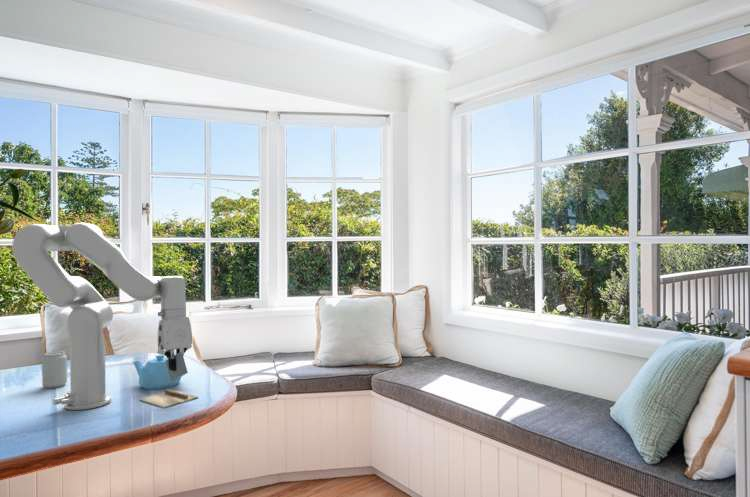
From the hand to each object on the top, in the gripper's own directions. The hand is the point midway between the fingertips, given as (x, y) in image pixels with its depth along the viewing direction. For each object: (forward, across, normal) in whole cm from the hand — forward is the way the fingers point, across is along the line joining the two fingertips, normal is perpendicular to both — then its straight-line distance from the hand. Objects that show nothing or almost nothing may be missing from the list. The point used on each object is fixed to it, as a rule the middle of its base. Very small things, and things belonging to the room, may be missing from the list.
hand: (175, 369), depth 158 cm
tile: (+2, 0, -2) cm, 3 cm away
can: (+9, -16, +50) cm, 54 cm away
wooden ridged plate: (+9, -2, 0) cm, 10 cm away
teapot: (+9, +6, +19) cm, 22 cm away
